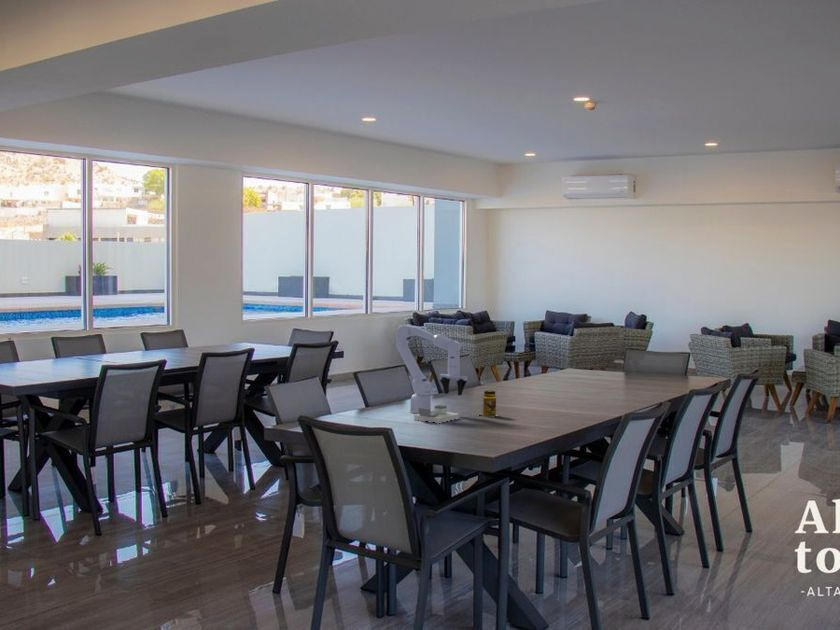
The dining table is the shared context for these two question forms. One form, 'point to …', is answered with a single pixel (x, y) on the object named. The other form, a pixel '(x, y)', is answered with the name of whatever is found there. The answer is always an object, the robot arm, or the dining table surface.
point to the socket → (437, 417)
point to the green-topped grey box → (441, 409)
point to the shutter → (427, 412)
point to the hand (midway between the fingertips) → (453, 394)
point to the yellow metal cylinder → (489, 404)
